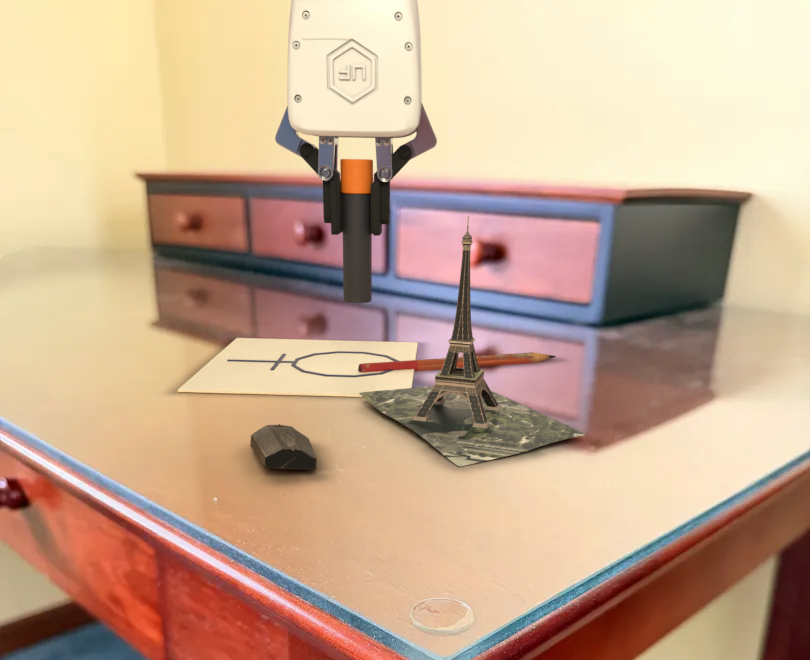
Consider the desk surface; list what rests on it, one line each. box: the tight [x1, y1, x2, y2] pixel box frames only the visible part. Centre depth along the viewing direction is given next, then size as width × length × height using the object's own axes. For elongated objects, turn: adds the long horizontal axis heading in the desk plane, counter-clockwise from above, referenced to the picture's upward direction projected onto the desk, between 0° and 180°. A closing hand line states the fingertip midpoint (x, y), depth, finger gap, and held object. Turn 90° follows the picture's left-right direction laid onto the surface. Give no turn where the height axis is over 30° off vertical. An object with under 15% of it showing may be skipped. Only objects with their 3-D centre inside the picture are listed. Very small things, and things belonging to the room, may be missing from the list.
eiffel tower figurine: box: [359, 215, 588, 468], centre depth 54 cm, size 15×10×13 cm
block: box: [249, 423, 317, 471], centre depth 49 cm, size 4×6×2 cm, turn 17°
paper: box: [177, 337, 419, 398], centre depth 72 cm, size 18×20×1 cm
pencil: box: [358, 351, 557, 372], centre depth 72 cm, size 19×1×1 cm, turn 110°
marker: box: [339, 158, 374, 304], centre depth 68 cm, size 3×3×11 cm
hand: (357, 231), depth 68 cm, fingers closed on marker, 2 cm apart
